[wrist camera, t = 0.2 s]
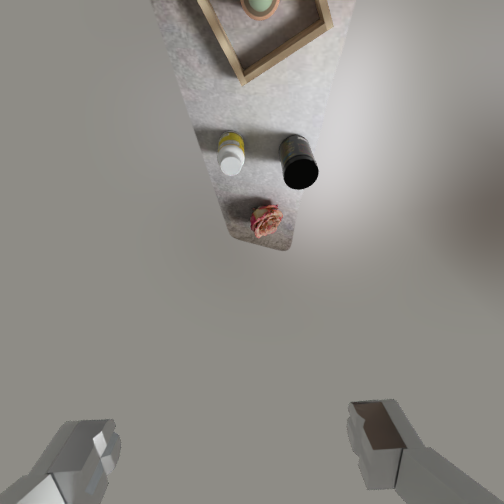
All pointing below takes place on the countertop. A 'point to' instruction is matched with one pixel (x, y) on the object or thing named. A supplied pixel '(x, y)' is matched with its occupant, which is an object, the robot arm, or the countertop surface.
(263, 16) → the peach bottle
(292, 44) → the brown wooden rectangular frame
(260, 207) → the flower
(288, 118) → the countertop surface
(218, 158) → the supplement bottle
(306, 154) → the supplement container
